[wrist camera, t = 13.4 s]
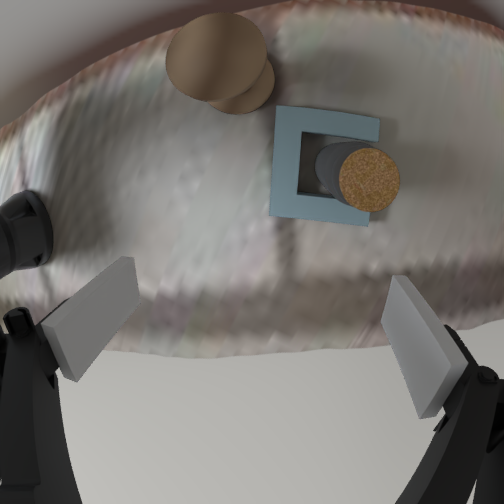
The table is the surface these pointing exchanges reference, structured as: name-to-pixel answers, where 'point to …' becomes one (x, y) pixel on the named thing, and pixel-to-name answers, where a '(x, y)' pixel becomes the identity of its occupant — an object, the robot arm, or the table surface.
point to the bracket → (288, 156)
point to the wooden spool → (221, 63)
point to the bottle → (358, 175)
